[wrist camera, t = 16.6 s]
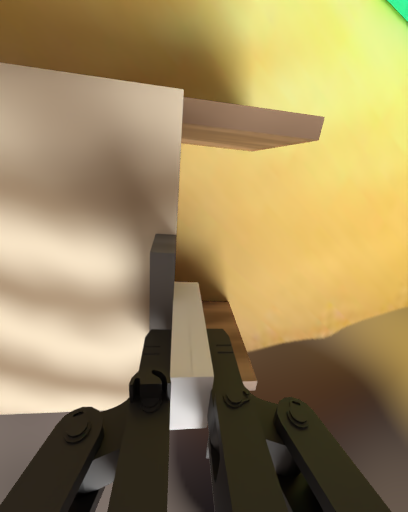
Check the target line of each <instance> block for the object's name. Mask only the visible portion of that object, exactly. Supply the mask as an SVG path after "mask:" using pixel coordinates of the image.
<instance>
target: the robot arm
mask: <svg viewBox="0 0 408 512" xmlns="http://www.w3.org/2000/svg"><path fill="white" fill-rule="evenodd" d="M207 422H208V428H209V439H208V446H207V454H206V458H209V460H210V469H211V479H212V489H213V499H214V509H215V512H391V511H390V509H389V508H388V507H387V505H386V504H385V503H384V502H383V500H382V499H381V498H380V496H379V495H378V494H377V493H376V491H375V490H374V489H373V487H372V486H371V485H370V484H369V482H368V481H367V480H366V478H365V477H364V476H363V474H362V473H361V472H360V471H359V469H358V468H357V467H356V465H355V464H354V463H353V462H352V460H351V459H350V458H349V456H348V455H347V454H346V453H345V451H344V450H343V449H342V447H341V446H340V445H339V443H338V442H337V441H336V440H335V438H334V437H333V436H332V434H331V433H330V432H329V431H328V429H327V428H326V427H325V425H324V424H323V423H322V421H321V420H320V419H319V418H318V416H317V415H316V414H315V412H314V411H313V410H312V409H311V408H310V407H309V406H308V405H307V404H306V403H304V402H302V401H301V400H299V399H296V398H292V397H288V398H284V399H282V400H281V401H279V404H275V403H271V402H268V401H264V400H261V399H259V398H257V397H255V396H254V395H252V394H251V393H250V392H249V390H248V389H247V388H246V387H245V386H244V384H243V382H242V379H241V375H240V372H239V368H238V365H237V361H236V358H235V355H234V351H233V348H232V344H231V341H230V337H229V335H228V334H227V333H226V332H225V331H224V329H206V325H205V319H204V313H203V307H202V301H201V295H200V289H199V283H198V282H174V299H173V315H172V329H151V330H150V331H149V333H148V334H147V335H146V337H145V340H144V345H143V351H142V356H141V361H140V366H139V371H138V372H137V373H136V374H135V375H134V376H133V377H132V378H131V381H130V383H129V398H128V399H127V400H126V401H125V402H123V403H122V404H120V405H118V406H116V407H114V408H111V409H108V410H105V411H103V412H99V410H97V409H95V408H93V407H81V408H78V409H75V410H73V411H71V412H70V413H69V414H67V415H65V416H64V417H63V418H62V420H61V421H60V422H59V423H58V424H57V425H56V426H55V428H54V429H53V431H52V432H51V434H50V435H49V436H48V438H47V439H46V441H45V442H44V444H43V445H42V447H41V448H40V449H39V451H38V452H37V454H36V455H35V456H34V458H33V459H32V461H31V462H30V464H29V465H28V467H27V468H26V469H25V471H24V472H23V474H22V475H21V477H20V478H19V479H18V481H17V482H16V483H15V485H14V486H13V488H12V489H11V491H10V492H9V493H8V495H7V497H6V498H5V499H4V501H3V502H2V504H1V505H0V512H95V510H96V508H97V505H98V503H99V500H100V498H101V495H102V493H103V491H104V488H105V486H106V485H108V484H110V483H112V482H113V487H112V492H111V497H110V502H109V507H108V512H167V493H168V461H169V431H170V430H176V429H191V428H192V429H193V428H207Z"/></svg>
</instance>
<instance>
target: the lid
mask: <svg viewBox="0 0 408 512" xmlns="http://www.w3.org/2000/svg"><path fill="white" fill-rule="evenodd" d="M183 96H184V89H178V88H171V87H164V86H157V85H151V84H144V83H137V82H130V81H123V80H116V79H110V78H103V77H96V76H89V75H82V74H76V73H69V72H62V71H55V70H48V69H41V68H35V67H28V66H21V65H14V64H7V63H1V62H0V415H1V414H25V413H48V412H71V411H73V410H75V409H78V408H81V407H93V408H95V409H97V410H108V409H111V408H114V407H116V406H118V405H120V404H122V403H123V402H125V401H126V400H127V399H128V398H129V383H130V381H131V378H132V377H133V376H134V375H135V374H136V373H137V372H138V371H139V366H140V361H141V356H142V351H143V345H144V340H145V337H146V335H147V334H148V333H149V331H150V330H151V329H172V315H173V299H174V280H175V261H176V232H177V213H178V193H179V174H180V154H181V135H182V115H183Z"/></svg>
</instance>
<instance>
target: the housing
mask: <svg viewBox="0 0 408 512" xmlns="http://www.w3.org/2000/svg"><path fill="white" fill-rule="evenodd" d="M323 121H324V117H321V116H314V115H307V114H300V113H293V112H286V111H279V110H272V109H265V108H258V107H251V106H244V105H237V104H230V103H223V102H216V101H209V100H202V99H195V98H188V97H183V115H182V135H181V143H184V144H193V145H202V146H210V147H219V148H228V149H237V150H245V151H257V150H263V149H269V148H275V147H281V146H287V145H293V144H299V143H305V142H311V141H317V140H319V137H320V133H321V129H322V125H323ZM202 307H203V313H204V319H205V325H206V329H224V331H225V332H226V333H227V334H228V335H229V337H230V341H231V344H232V348H233V351H234V355H235V358H236V361H237V365H238V368H239V372H240V375H241V379H242V382H243V384H244V386H245V387H246V388H247V389H248V390H255V389H256V384H257V379H256V376H255V373H254V370H253V368H252V365H251V362H250V359H249V357H248V354H247V351H246V348H245V346H244V343H243V340H242V337H241V335H240V332H239V329H238V326H237V324H236V321H235V318H234V315H233V313H232V310H231V307H230V304H229V302H220V301H202Z"/></svg>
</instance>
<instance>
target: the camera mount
mask: <svg viewBox="0 0 408 512" xmlns="http://www.w3.org/2000/svg"><path fill="white" fill-rule="evenodd" d="M387 1H388V2H389V3H390V4H391V5H392V6H393V7H394V8H395V9H396V10H397V11H398V12H399V13H400V14H401V15H402V16H403V17H404V18H405V19H406V20H407V21H408V0H387Z"/></svg>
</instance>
